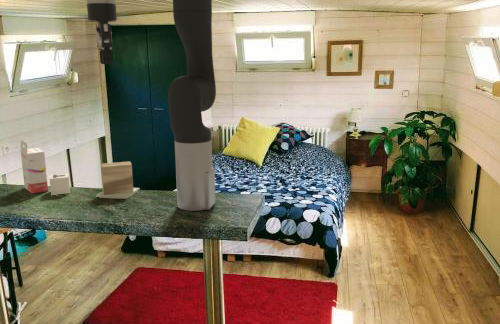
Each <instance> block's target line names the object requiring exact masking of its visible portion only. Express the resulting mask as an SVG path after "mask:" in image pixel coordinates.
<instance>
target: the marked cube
mask: <svg viewBox="0 0 500 324" xmlns="http://www.w3.org/2000/svg"><path fill="white" fill-rule="evenodd" d="M49 186H50V196H51V197H53V196H52V195H56V196H58V195H57V194H62V193H70V194H71V188H70V177H69V173H58V174H49Z"/></svg>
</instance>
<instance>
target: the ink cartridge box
mask: <svg viewBox="0 0 500 324" xmlns="http://www.w3.org/2000/svg"><path fill="white" fill-rule="evenodd" d="M45 155H46V154H45V151H44V150H41V149H40V148H38V147H32V148H28V143H27V142H26V141H25V140H22V139H20V157H21V166H22V176H23V185H24V188H25V189H26V190H27V191H28V192H29V193H30V194H36V193H37V194H38V193H45V192H48V191H49V186H48V185H49V184H48V177H47V175H48V174H47V167H46V166H47V165H46V156H45Z"/></svg>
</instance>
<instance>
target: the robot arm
mask: <svg viewBox="0 0 500 324" xmlns="http://www.w3.org/2000/svg"><path fill="white" fill-rule="evenodd" d="M212 3H213V2H212V0H172V14H173V22H174V25H175V28H176V31H177V33H178V36H179V39H180V40H181V43H182V46H183V47H184V48H183V49H184V52H185V56H186V75H182V76H178V77H176V78H175V79H174V80H172V81H171V83H170V85H169V88H168V97H167V99H168V111H169V121H170V122H169V123H170V128H171V131H172V133H173V137H174V153H175V154H174V155H175V158H174V159H175V179H176V181H175V182H176V202H177V207H178V208H179V209H180V210H183V211H188V212H189V211H190V212H192V211H193V212H194V211H204V210H208V211H209V210H211V209H212V207H213V206H214V205H215V204H216V180H215V179H216V177H215V176H216V173H215V172H216V171H215V168H214V167H213V152H212V151H213V149H212V147H213V146H212V145H213V144H212V142H213V141H212V130H211V128H209V127H207V126H205V124H204V122H203V117H202V116H203V115H202V112H205V111H208V110H209V109H211V108H212V106H214V103H215V101H216V95H217V88H216V87H217V86H216V77H215V69H214V62H213V61H214V60H213V30H212V29H213V27H212V26H213V25H212V21H213V20H212V17H213V8H212V7H213V4H212ZM116 4H117V3H116V0H86V9H87V19H88V21H89V22H93V23H94V22H96V23H97V26H96V28H95V29H94V30H95V36H96V44H97V49H98V51H99V61H100V64H101V65H112V63H113V59H112V48H113V37H112V36H113V35H112V34H113V30H112V25H111V24H110V23H113V22H116V21H117V20H118V18H117V16H118V15H117V5H116Z"/></svg>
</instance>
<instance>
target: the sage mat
mask: <svg viewBox="0 0 500 324" xmlns="http://www.w3.org/2000/svg"><path fill="white" fill-rule="evenodd" d="M138 190H139V191H141V190H140V187H133V191H134V192H127V193H118V194H109V195H104V193H103V190H102V191H101V192H99V193H97V194H95V198H97V197H99V198H101V199H120V200H122V199H124V200H127V199H128V198H130V197H132V195H134V194H136V193H137V192H139V191H138Z"/></svg>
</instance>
